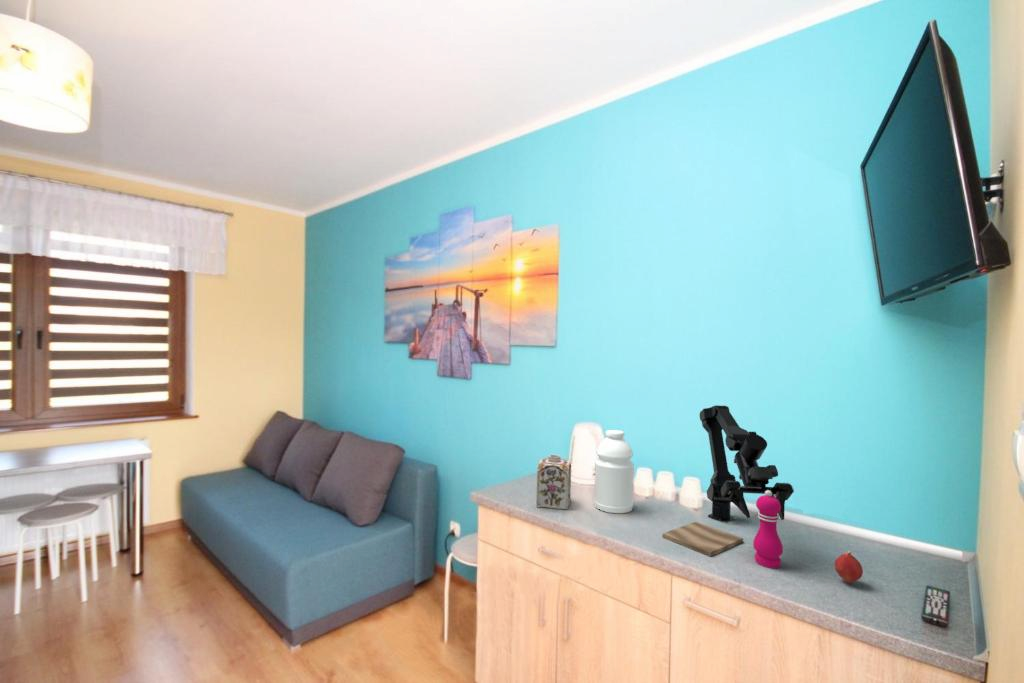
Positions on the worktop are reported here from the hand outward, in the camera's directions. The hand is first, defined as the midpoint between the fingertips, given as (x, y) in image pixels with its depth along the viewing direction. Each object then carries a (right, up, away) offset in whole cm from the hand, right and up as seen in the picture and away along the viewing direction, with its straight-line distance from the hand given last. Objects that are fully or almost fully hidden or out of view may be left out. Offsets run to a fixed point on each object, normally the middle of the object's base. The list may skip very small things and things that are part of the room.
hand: (765, 518), depth 129 cm
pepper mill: (0, -12, -1) cm, 12 cm away
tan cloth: (-12, -12, +13) cm, 22 cm away
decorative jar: (-55, -12, +44) cm, 72 cm away
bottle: (-34, -12, +41) cm, 54 cm away
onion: (+15, -12, -12) cm, 22 cm away
